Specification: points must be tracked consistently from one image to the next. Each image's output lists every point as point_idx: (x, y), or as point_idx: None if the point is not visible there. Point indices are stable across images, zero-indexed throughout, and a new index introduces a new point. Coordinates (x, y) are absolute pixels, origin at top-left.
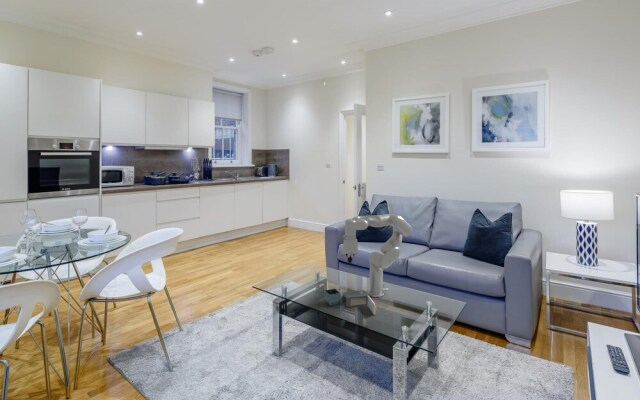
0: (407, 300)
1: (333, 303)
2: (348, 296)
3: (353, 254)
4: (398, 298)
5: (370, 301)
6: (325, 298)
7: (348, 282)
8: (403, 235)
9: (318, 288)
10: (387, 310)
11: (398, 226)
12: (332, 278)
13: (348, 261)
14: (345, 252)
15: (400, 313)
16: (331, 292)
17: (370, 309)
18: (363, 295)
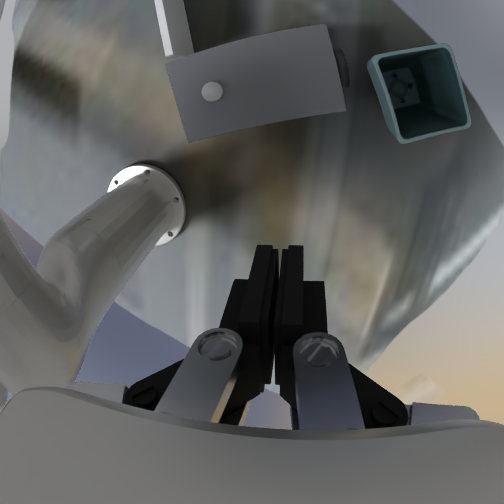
0: (37, 147)
1: (397, 61)
2: (310, 40)
3: (160, 399)
4: (62, 161)
5: (168, 6)
6: (442, 106)
7: None
8: None
9: (424, 276)
10: (109, 30)
11: None
12: None
13: (310, 281)
14: (484, 459)
15: (69, 21)
16: (417, 128)
17: (185, 12)
18: (200, 59)
